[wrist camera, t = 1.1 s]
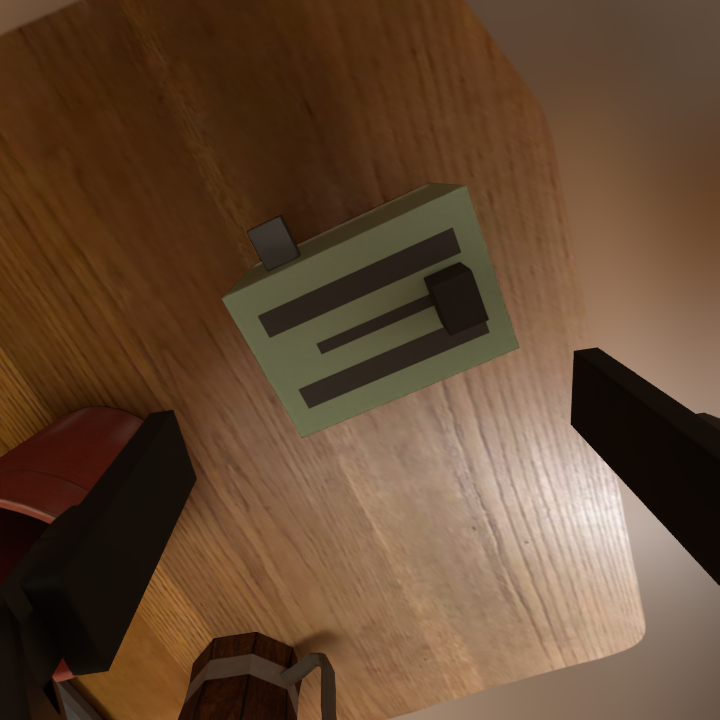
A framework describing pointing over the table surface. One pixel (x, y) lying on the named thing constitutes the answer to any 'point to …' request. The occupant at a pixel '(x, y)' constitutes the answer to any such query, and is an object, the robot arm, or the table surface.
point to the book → (75, 703)
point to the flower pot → (56, 479)
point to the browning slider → (456, 298)
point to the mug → (253, 681)
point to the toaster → (366, 306)
